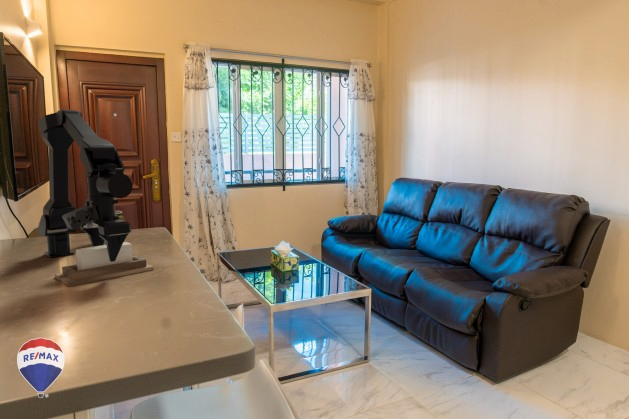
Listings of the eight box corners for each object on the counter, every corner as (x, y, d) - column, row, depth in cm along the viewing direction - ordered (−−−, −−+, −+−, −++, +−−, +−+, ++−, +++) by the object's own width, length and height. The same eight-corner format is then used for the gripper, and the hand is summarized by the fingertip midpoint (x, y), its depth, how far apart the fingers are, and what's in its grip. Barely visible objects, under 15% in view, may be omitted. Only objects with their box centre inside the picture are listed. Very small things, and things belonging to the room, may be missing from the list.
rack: (55, 277, 106) (54, 266, 105) (136, 262, 120) (136, 253, 120) (68, 286, 99) (67, 275, 99) (153, 269, 113) (153, 259, 113)
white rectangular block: (77, 273, 106) (75, 249, 106) (127, 264, 115) (126, 241, 114) (82, 276, 104) (80, 251, 103) (132, 267, 112) (131, 244, 112)
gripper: (52, 194, 108) (57, 257, 110) (78, 201, 95) (83, 271, 97) (100, 191, 115) (103, 250, 118) (130, 197, 103) (133, 262, 105)
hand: (105, 258), depth 109 cm, fingers open, 9 cm apart
